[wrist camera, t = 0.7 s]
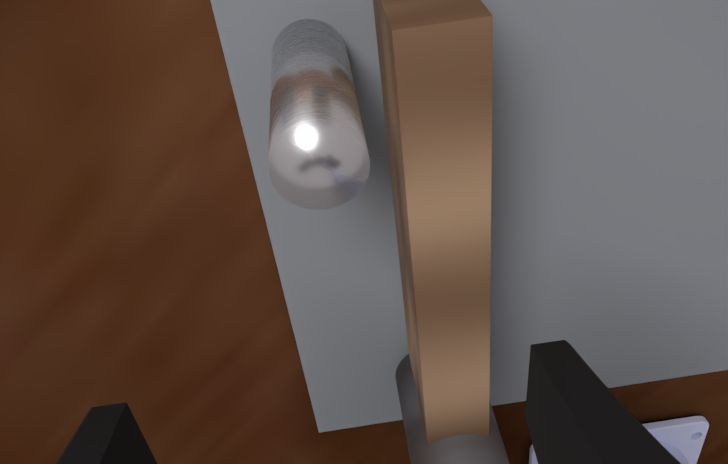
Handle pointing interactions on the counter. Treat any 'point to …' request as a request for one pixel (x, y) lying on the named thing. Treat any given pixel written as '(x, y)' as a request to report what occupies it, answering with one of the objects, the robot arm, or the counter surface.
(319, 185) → the hitch post
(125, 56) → the counter surface
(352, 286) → the mat
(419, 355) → the bar
